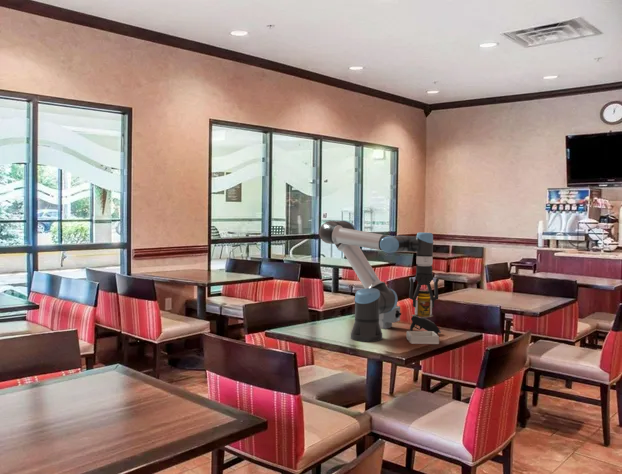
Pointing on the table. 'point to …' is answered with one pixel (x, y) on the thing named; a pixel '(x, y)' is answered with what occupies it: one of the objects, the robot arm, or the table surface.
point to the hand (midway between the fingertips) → (423, 314)
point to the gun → (424, 324)
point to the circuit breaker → (389, 318)
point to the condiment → (423, 304)
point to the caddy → (422, 337)
